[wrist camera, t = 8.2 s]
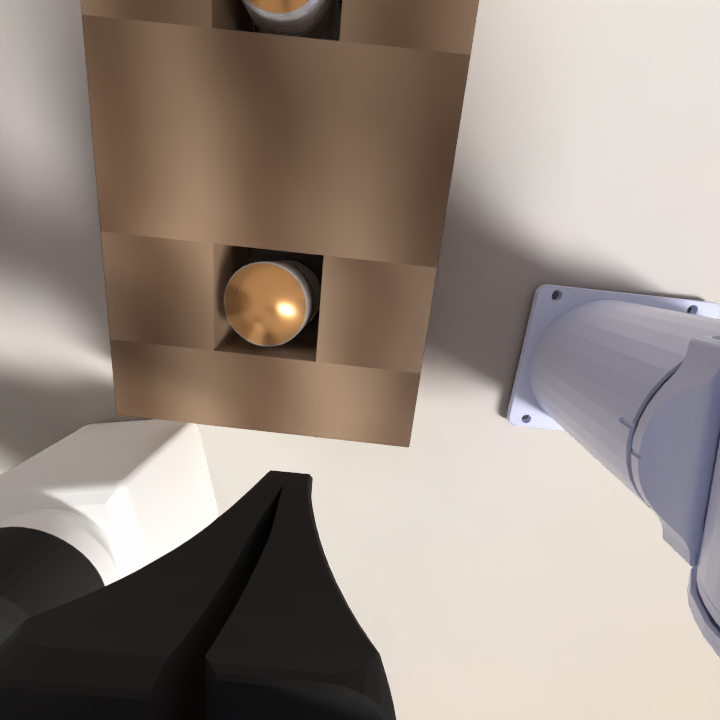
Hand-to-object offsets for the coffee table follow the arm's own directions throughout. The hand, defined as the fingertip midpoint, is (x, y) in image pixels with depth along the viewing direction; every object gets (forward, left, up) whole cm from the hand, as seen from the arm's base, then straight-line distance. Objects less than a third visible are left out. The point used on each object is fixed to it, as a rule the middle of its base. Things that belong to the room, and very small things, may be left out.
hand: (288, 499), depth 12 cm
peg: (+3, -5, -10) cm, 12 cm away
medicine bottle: (+11, +7, -11) cm, 17 cm away
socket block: (+3, -11, -10) cm, 15 cm away
